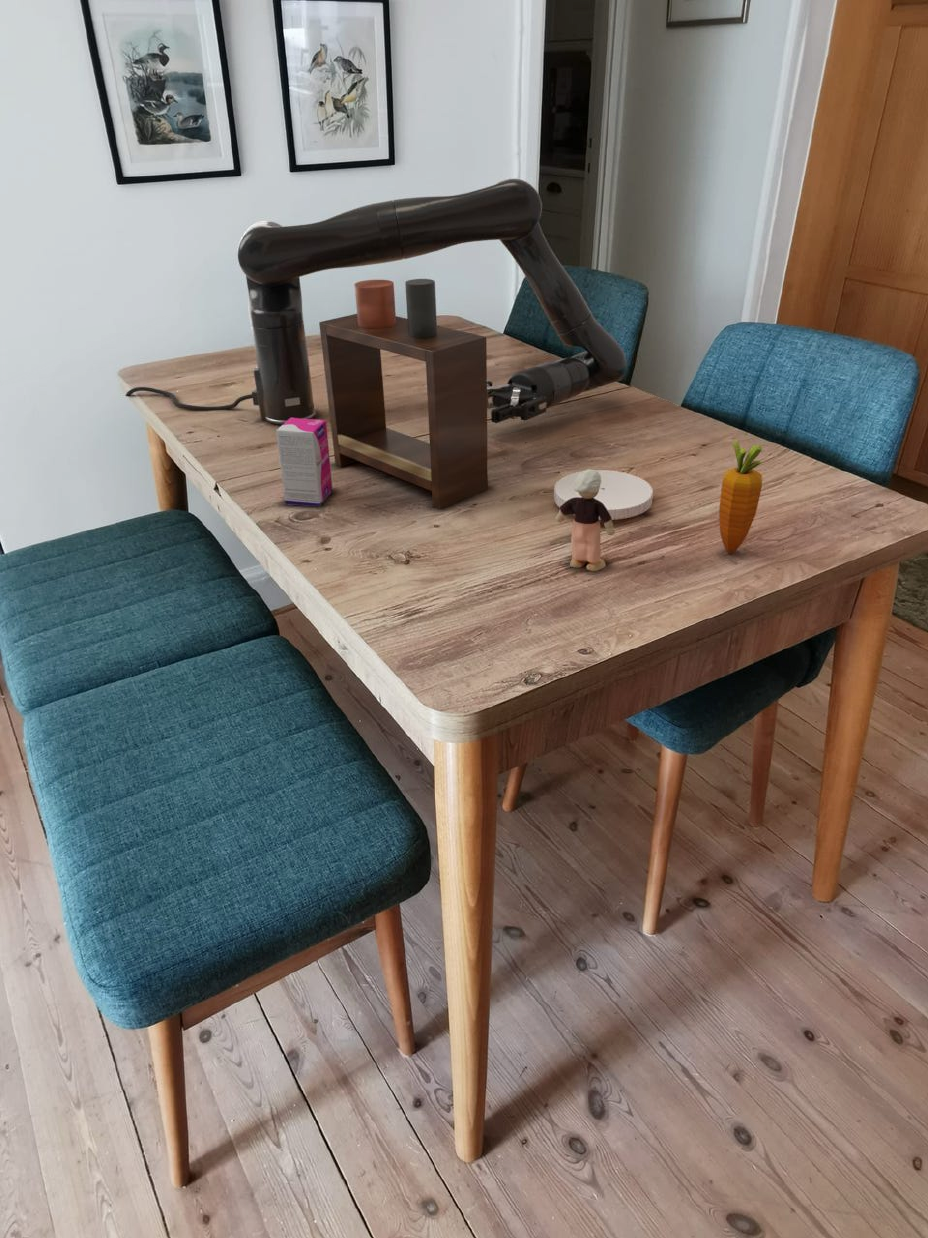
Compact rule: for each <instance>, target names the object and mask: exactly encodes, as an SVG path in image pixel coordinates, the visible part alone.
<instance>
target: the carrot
mask: <svg viewBox="0 0 928 1238" xmlns="http://www.w3.org/2000/svg"><path fill="white" fill-rule="evenodd" d="M732 447H733V449H734V454H735V458H736V462H737V465H736V467H733V468H729V469H726V471H724V474H723V477H722V482H721V483H722V484H721V490H720V499H719V509H718V513H719V514H718V517H719V520H718V521H719V534H720V538H721V542H722V544H723V546H724V549H725V551H726V552H727V553H728V554H729V555H731V554H733V553H736V551H737V550H738V549H739V548H740V547H741V545H742V544H743V543H744V541H745V539H746V538H747V536H748V534H749V532H750V531H751V527H752V524H753V522H754V520H755V517H756V513H757V509H758V506H759V501H760V497H761V491H762V488H763V487H762V486H763V475H762V474H761V473H760V472H759V471H757V470H755V468H757V467H758V466H760V465H761V464H762V462H761V461H760V460H756V458H757V457H758V455H760V453H761V452H762V450H763V447H762V446H761V445H760V444H755V445H753V446H752V447H751V448H750V449H749V450H748V453H747V449H746V448H741V446H740V444H739V441H734V442H732Z"/></svg>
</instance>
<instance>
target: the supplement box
mask: <svg viewBox="0 0 928 1238" xmlns="http://www.w3.org/2000/svg"><path fill="white" fill-rule="evenodd" d="M275 432H276V442H277V448H278V457H279V458H278V459H279V466H280V474H281V481H282V489H283V497H284V504H285V505H291V506H307V507H321V506H322V504H323V503H324V502H325V500H326V499H327V498H328V497H329V496H330V495H331V494H332V493H333V482H332V471H331V461H330V460H331V459H330V447H329V438H328V427H327V420H326V419H317V418H316V419H315V418H312V419H301V418H290V419H289V420H288V421H287V422H285V423H284V424H283V425H281V426H279V427H278V428H277V429H276V430H275Z"/></svg>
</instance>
